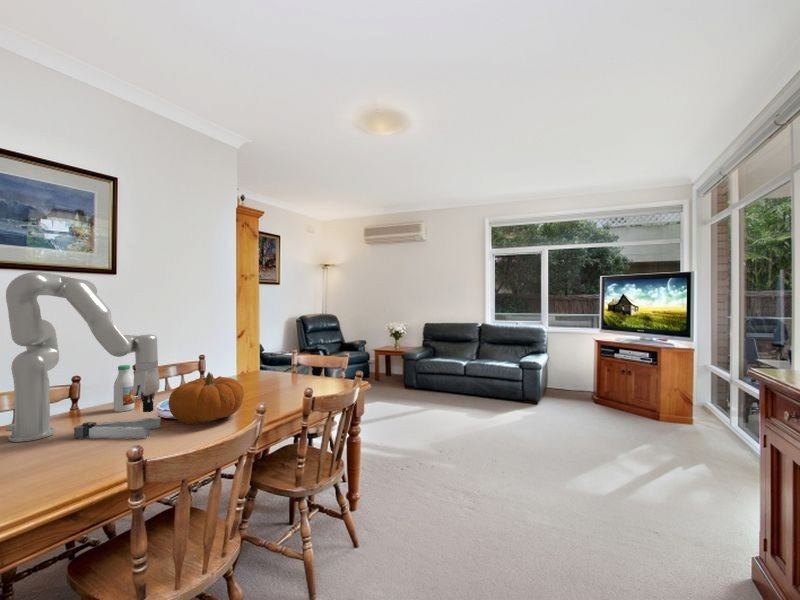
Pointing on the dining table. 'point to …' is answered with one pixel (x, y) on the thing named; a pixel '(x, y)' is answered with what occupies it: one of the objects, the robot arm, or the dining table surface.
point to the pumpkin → (206, 399)
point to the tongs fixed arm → (110, 431)
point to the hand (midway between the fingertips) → (148, 411)
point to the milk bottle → (123, 390)
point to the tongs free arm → (133, 423)
